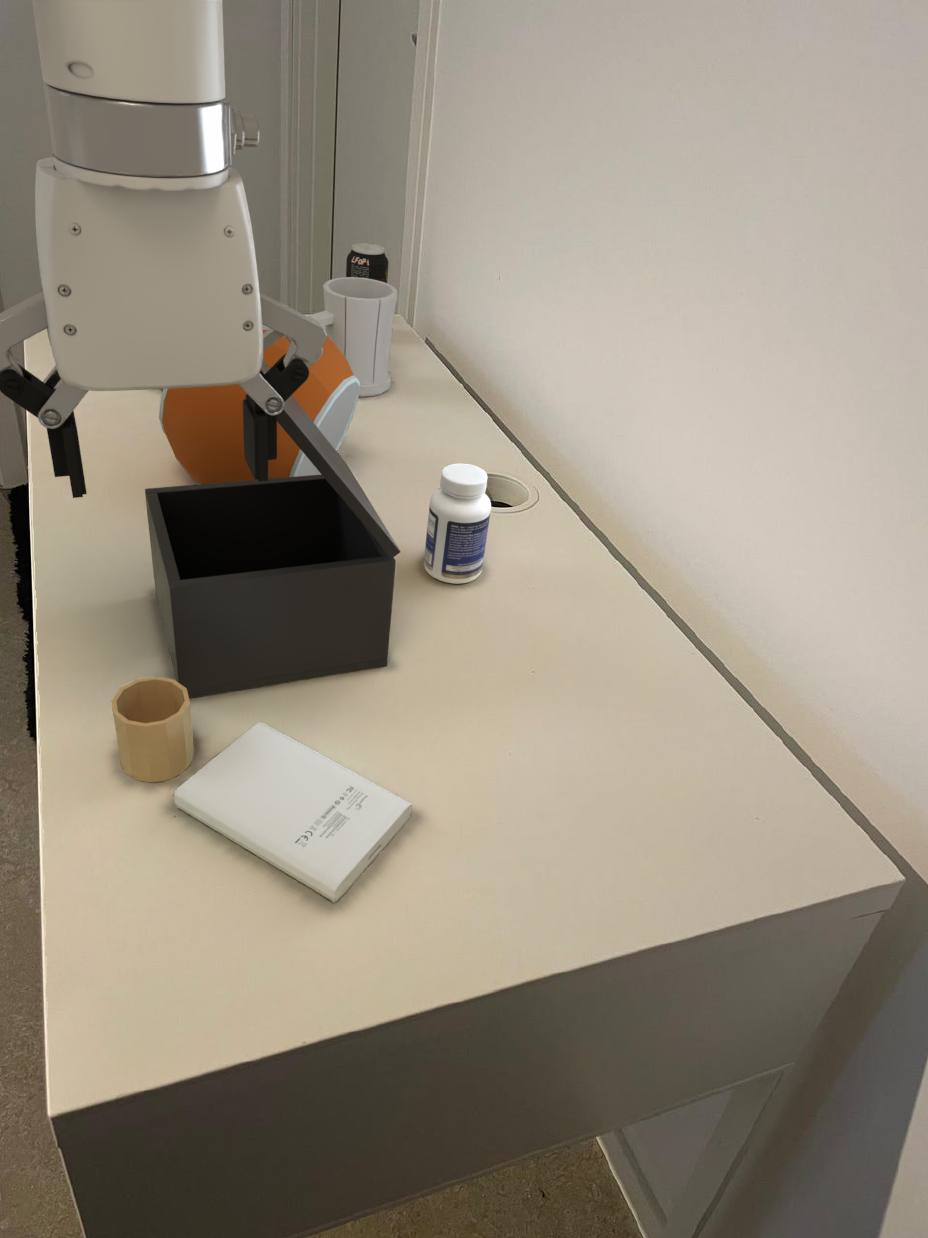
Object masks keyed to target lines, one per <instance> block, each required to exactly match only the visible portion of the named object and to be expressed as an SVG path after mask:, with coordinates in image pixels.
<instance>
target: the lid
mask: <svg viewBox="0 0 928 1238" xmlns="http://www.w3.org/2000/svg"><path fill="white" fill-rule="evenodd" d="M282 336H284V335H283V334H281V333H279V332H277V331H275V330H273V329H271V328H270V329H269V330H267V331H266V332H265V333H263V351H264V350H265V349H266V348H268V347H269V346H270V345H272V344H273V343H274V342H276V341H277V340H278V339H280V338H281V337H282ZM286 338H287V339H288V341H289V343H290V344H291V340H292V339H291V338H289V337H287V336H286ZM322 352H323V349H321V351H320V353H319V354H318V356H317V358H316V360H315V362H317V361H318V360H319V359H320V358H321V356H322ZM315 362H314V363H315ZM261 369H262V370H263V371H264V372H265V373H267V371H268V370H269V369H270V367H269V366H268V365H267V364H266V362H265V361H264V360H263V361H262V367H261ZM277 422H278V423H279V424H280V425H281V427H282V428H283V429H284V430H285V431H286V433H287V434H288V435H289V436H290V437H291V439H292V440H293V441H294V442H295V443H296V445H297V446H298V447H299V448H300V449H301V451H302V452H303V453H304V454H305V455H306V456H307V458H308V459H309V460H310V461H311V462H312V464H313V465H314V466H315V467H316V468H317V470H318V471H319V472H320V473H321V474H322V476H323V477H324V478H325V479H326V480H327V482H328V483H329V484H330V485H331V486H332V488H333V489H334V490H335V491H336V492H337V494H338V495H339V496H340V497H341V498H342V499H343V501H344V502H345V503H346V504H347V505H348V507H349V508H350V509H351V510H352V511H353V513H354V514H355V515H356V516H357V517H358V519H359V520H360V521H361V522H362V523H363V525H364V526H365V527H366V528H367V529H368V531H369V532H370V533H371V534H372V535H373V537H374V538H375V539H376V540H377V541H378V542H379V544H380V545H381V546H382V547H383V548H384V550H385V551H386V552H387V553H388V554H389V556H390V557H391V558H393V557H394V558H395V557H397V555H399V554H400V553H401V549H400V548H399V546H398V545H397V543H396V541H395V540H394V538H393V537H392V535H391V534H390V532H389V530H388V529H387V527H386V525H385V524H384V522H383V521H382V519H381V517H380V516H379V514H378V512H377V510H376V509H375V507H374V506H373V504H372V502H371V501H370V499H369V498H368V496H367V495H366V493H365V491H364V490H363V488H362V487H361V485H360V483H359V481H358V479H356V476H355V475H354V473H353V472H352V469H351V468H350V467H349V465H348V463H346V461H345V459H344V458H342V456H341V455H340V454H339V452H338V451H336V450H335V449H334V448H333V446H332V445H331V444H330V443H329V441H328V440H327V439H326V438H325V436H324V435H323V434H322V433H321V431H320V430H319V429H318V428H317V426H316V425H315V424H314V423H313V421H312V420H311V419H310V418H309V416H308V415H307V414H306V412H305V411H304V410H303V409H302V407H301V406H300V405H299V404H298V402H297V401H296V400H295V399H294V397H293V396H292V395H291V396H290V397H289V398H288V399H287V400H286V401H285V402H284V409H283V411H282V412H281V413H279V414H278V415H277Z"/></svg>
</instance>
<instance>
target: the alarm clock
mask: <svg viewBox="0 0 928 1238" xmlns="http://www.w3.org/2000/svg"><path fill="white" fill-rule="evenodd" d="M285 305H286V306H288V305H287V304H285ZM262 327H263V333H265V332H266V331H267V330H269V329H270V328H269V327H267V326H265V325H263V324H262ZM289 346H290V343H289V341H288V339H287V338H286V336H285V335H284V336H282V337H281V338H280V339H278V340H277V341H276V342H274V343H273V344H272V345H270V346H269V347H268V348H266V349H265V350H264V351H263V360H264V361H265V362H266V364H267V365H268V366H269V367H270V368H271V367H272V366H273V365H274V364H275V363H276V362H277V361H278V360H279V359H280V358H281V357H282V356H283V355H284V354H286V353H287V352H288V350H289ZM322 349H323V352H322V356H321V358H320V359H319V360H318V361H317V362H315V363H314V364H312V365H311V367H310V369H309V376H308V378H307V380H306V381H305V382H304V383H303V384H302V385H301V386H300V387H299V388H298V389H297V390H296V391H295V392H294V393H293V394H292V396H293V397H294V399H295V400H296V401H297V402H298V404H299V405H300V406H301V407H302V409H303V410H304V411H305V412H306V414H307V415H308V416H309V418H310V419H311V420H312V421H313V423H314V424H315V425H316V426H317V428H318V429H319V430H320V431H321V433H322V434H323V435H324V436H325V438H326V439H327V440H328V441H329V443H330V444H331V445H332V446H333V448H334V449H335V450H336V451H337V452H338V451H339V449H340V447H341V445H342V444H343V441H344V439H345V437H346V434H347V433H348V430H349V427H350V425H351V423H352V420H353V417H354V414H355V411H356V408H357V405H358V402H359V388H360V382H359V381H358V379H357V378H356V377H355V376H354V374H353V372H352V370H351V367H350V365H349V363H348V361H347V360H346V358H345V357H344V355H343V354H342V352H341V351H340V350H339V349H338V348H337V346H336V345H335V344H334V343H333V341H332V340H331V339H330V338H329V337H328V335H327V338H326V341H325V343H324V345H323V347H322ZM246 395H248V394H247V393H246V392H245V391H244V390H243V389H242V388H241V387H240V386H239V385H238V384H233V385H224V386H209V387H190V388H170V389H162V392H161V394H160V400H159V401H160V402H159V412H158V420H159V424H160V426H161V430H162V433H163V434H164V435H165V436H166V439H167V441H168V443H169V445H170V448H171V451H172V452H173V455H174V457H175V459H176V460H177V462H178V463H179V465H180V466H181V467H182V468H183V469H184V470H185V471H186V473H187V474H188V475H189V476H190V478H191V479H193V480H194V481H195V482H196V483H198V484H210V483H223V482H235V481H248V480H255V479H254V477H253V475H252V473H251V471H250V469H249V467H248V465H247V463H246V460H245V457H244V431H243V400H244V399H246ZM310 475H322V474H321V473H320V472H319V471H318V470H317V468H316V467H315V466H314V465H313V464H312V462H311V461H310V460H309V459H308V458H307V456H306V455H305V454H304V453H303V452H302V451H301V449H300V448H299V447H298V446H297V445H296V443H295V442H294V441H293V440H292V439H291V437H290V436H289V435H288V434H287V433H286V431H285V430H284V429H283V428H282V427H281V425H280V424H279V423H278V422H277V459H276V460H268V479H273V478H285V477H298V476H310ZM256 480H257V479H256Z"/></svg>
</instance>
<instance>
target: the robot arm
mask: <svg viewBox="0 0 928 1238" xmlns="http://www.w3.org/2000/svg"><path fill="white" fill-rule="evenodd" d="M31 4H32V11H33V19H34V26H35V33H36V41H37V47H38V54H39V64H40V69H41V77H42V82H43V84H42V85H43V91H44V98H45V105H46V113H47V119H48V127H49V128H48V129H49V134H50V141H51V149H52V156H48V157H43V158H41V159H39V160H37V162H36V167H35V183H34V184H35V185H34V213H35V214H34V218H35V233H36V234H35V235H36V236H35V237H36V247H37V258H38V267H39V276H40V288H41V291H40V292H37V293H35V294H33V295H31V296H29V297H28V298H26V299H24V300H22V301H20V302H18V303H17V304H15V305H13V306H11V307H9V308H7V309H6V310H4V311H1V312H0V393H1V394H3V395H4V396H5V397H7V398H8V399H9V400H11V401H12V402H14V403H15V404H17V405H18V406H19V407H20V408H23V409H24V410H26V412H28V413H30V414H31V415H32V416H34V417H35V418H37V419H38V422H39V423H40V425H41V426H43V427H44V428H46V433H47V439H48V445H49V450H50V457H51V463H52V468H53V474H54V478H63V477H69V482H70V487H71V488H70V489H71V496H72V499H77V498H84V495H87V494H88V493H87V487H86V480H85V479H86V478H85V473H84V466H83V459H82V453H81V446H80V440H79V439H80V438H79V432H78V427H77V421H76V417H75V411H74V410H75V409H76V408H77V406H78V405H79V404H80V402H82V400H83V399H84V398H85V397H86V395H87V394H88V392H89V391H90V392H119V391H120V392H121V391H122V392H123V391H145V390H163V389H170V388H190V387H209V386H224V385H233V384H238V385H239V386H240V387H241V388H242V389H243V390H244V391H245V392H246V393H247V394H248V395H246V399H244V400H243V431H244V457H245V460H246V463H247V465H248V467H249V469H250V471H251V473H252V475H253V477H254V479H255V480H256V479H257V480H258V482H260V481H268V460H276V459H277V415H278V414H279V413H281V412H282V411H283V409H284V402H285V401H286V400H287V399H288V398H289V397H290V396H291V395H292V394H293V393H294V392H295V391H296V390H297V389H298V388H299V387H300V386H301V385H302V384H303V383H304V382H305V381H306V380H307V378H308V376H309V369H310V367H311V365H312V364H314V362H315V360H316V358H317V356H318V354H319V353H320V351H321V349H322V347H323V345H324V343H325V341H326V338H327V334H326V330H325V329H324V328H323V327H321V325H320V324H319V323H318V322H317V321H315V320H313V319H311V318H309V316H307V315H306V314H303V313H301V312H299V311H297V310H296V309H295V308H292V307H290V306H289V305H287V304H285V303H282V302H280V301H278V300H276V299H274V298H272V297H270V296H268V295H267V294H264V293H263V292H261V291H260V284H259V272H258V265H257V264H258V263H257V256H256V247H255V239H254V234H253V233H254V231H253V227H252V226H253V225H252V220H251V215H250V209H249V205H248V199H247V195H246V190H245V186H244V181H243V177H242V176H241V174H240V172H239V170H237V169H235V168H233V167H232V156H235V155H236V151H242V150H243V148H246V147H247V148H258V147H259V143H260V126H259V120H258V116H256V115H253V114H252V115H251V114H242V113H241V111H239V110H234V108H233V107H232V106H230V102H229V101H228V100H227V99H226V77H225V73H226V72H225V71H226V70H225V68H226V67H225V39H224V12H223V0H31ZM286 305H287V306H286ZM262 324H263V325H265V326H267V327H269V328H271V329H273V330H275V331H277V332H279V333H281V334H283V335H285V336H287V337H289V338H291V339H292V340H291V344H290V346H289V350H288V352H287V353H286V354H284V355H283V356H282V357H281V358H280V359H279V360H278V361H277V362H276V363H275V364H274V365H273V366H272V367H271V368H270V369H269V370H268V371H267V373H265V372H264V371H263V370H262V369H261V367H262V361H263V327H262ZM44 330H46V331H47V336H48V341H49V344H50V349H51V353H52V357H53V359H54V366H53V368H52V369H51V370H50V372H49V373H48V374H47V375H46V377H45V378H44V379H43V381H42V380H41V379H39V378H38V377H37V376H36V375H34V374H33V373H31V372H30V371H29V370H27V369H26V368H24V367H23V366H22V365H20V364H19V363H18V362H17V361H16V360H15V359H14V358H13V355H12V354H11V353H10V352H9V350H11V348H12V347H14V346H17V345H18V344H20V343H22V342H24V341H26V340H28V339H29V338H31V337H33V336H35V335H37V334H39V333H42V332H43V331H44Z"/></svg>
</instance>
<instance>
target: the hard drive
mask: <svg viewBox="0 0 928 1238" xmlns="http://www.w3.org/2000/svg"><path fill="white" fill-rule="evenodd" d="M173 803H174V807H175V808H178V809H180V810H181V811H182V812H185V813H186V814H187V815H189V816H191V817H193V818H194V819H196V820H198V821H199V822H201V823H202V824H204V825H206V826H207V827H209V828H211V829H213V830H214V831H216V832H218V833H219V834H220V835H222V836H223V837H225V838H227V839H229V840H230V841H232V842H234V843H235V844H237V845H239V846H240V847H242V848H244V849H246V850H247V851H248V852H251V854H254V855H255V856H257V857H258V858H259V859H261V860H263V861H265V862H267V863H268V864H271V865H272V866H273V867H274V868H277V869H278V870H280V871H282V872H283V873H285V874H286V875H288V876H289V877H291V878H293V879H294V880H296V881H298V882H299V883H301V884H302V885H304V886H306V887H308V888H309V889H311V890H313V891H314V892H316V893H318V894H320V896H322V897H323V898H325V899H327V900H329V901H331V902H332V903H336V902H337V901H338V900H339V899H341V897H343V895H344V894H345V893H346V892H347V891H348V889H349V888H350V887H351V886H352V885H353V884H354V883H355V882H356V880H357V879H358V878H360V876H361V875H362V874H363V873H364V871H365V870H366V869H367V868H368V867H369V865H370V864H371V863H372V862H373V861H374V860H375V859H376V858H377V856H378V855H379V854H380V853H381V852H382V850H383V849H385V847H386V846H387V845H388V844H389V843H390V842H391V840H392V839H393V838H394V837H395V836H396V834H398V832H399V831H400V830H401V829H402V827H404V825H405V824H406V823H407V821H409V818H410V817H411V816H412V815H411V814H412V807H413V804H412V803H410V801H407V800H406V799H403V798H402V797H401V796H398V795H396V794H394V793H392V792H390V791H389V790H387V789H386V788H384V787H381V786H380V785H378V784H376V783H374V782H373V781H370V780H368V779H367V778H365V777H363V776H362V775H360V774H358V773H356V772H354V771H353V770H351V769H348V768H347V767H345V766H343V765H341V764H339V763H337V762H335V761H334V760H332V759H330V758H328V757H327V756H325V755H323V754H321V753H319V752H317V751H316V750H314V749H312V748H310V747H308V746H306V745H304V744H303V743H301V742H299V741H297V740H296V739H294V738H291V737H290V736H288V735H286V734H285V733H282V732H281V731H278V730H277V729H275V728H273V727H271V726H269V725H268V724H266V723H264V722H261V721H259V722H257V723H255V724H253V725H252V726H251V727H250V728H249V729H247V730H246V731H245V732H244V733H243V734H241V736H239V737H238V738H236V739H235V740H234V741H233V742H232V743H230V744H229V745H228V746H226V747H225V749H223V750H222V751H221V752H220V753H218V754H217V755H216V756H215V757H214V758H212V759H211V760H210V761H208V762H207V763H206V764H205V765H203V766H202V767H201V768H200V769H199V770H197V771H196V772H195V773H194V774H192V775H191V776H190V777H189V778H188V779H186V780H185V781H184V782H183V783H182V784H181V785H180V786H178V787H177V788H176V789H175V790H174V791H173Z"/></svg>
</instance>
